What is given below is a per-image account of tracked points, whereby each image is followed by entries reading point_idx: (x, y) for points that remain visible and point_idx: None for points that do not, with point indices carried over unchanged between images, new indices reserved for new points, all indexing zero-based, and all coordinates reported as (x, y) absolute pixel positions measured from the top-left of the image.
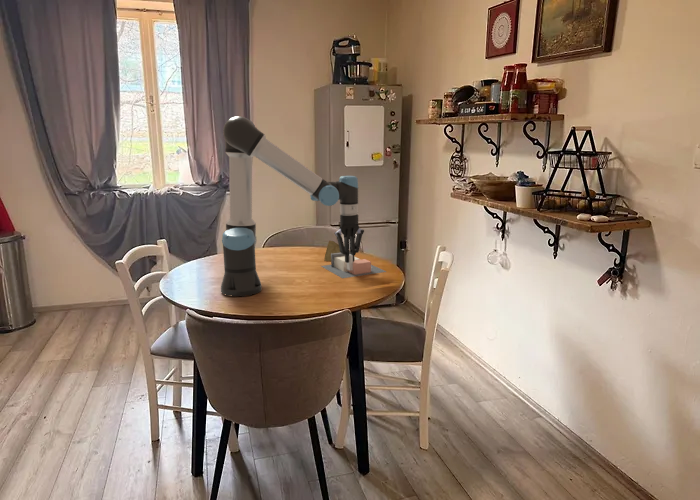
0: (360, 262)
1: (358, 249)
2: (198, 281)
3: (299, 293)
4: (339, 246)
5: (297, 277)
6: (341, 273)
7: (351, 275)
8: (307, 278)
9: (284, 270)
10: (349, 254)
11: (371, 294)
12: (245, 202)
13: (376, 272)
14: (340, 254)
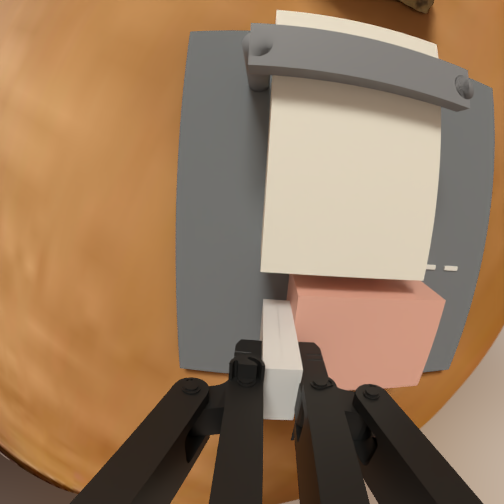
0: (354, 373)
1: (370, 448)
2: None
3: (6, 374)
4: (136, 442)
5: (14, 177)
6: (221, 284)
7: None
8: (41, 219)
9: (27, 31)
10: (280, 392)
11: None
12: None
13: None
14: (341, 77)
